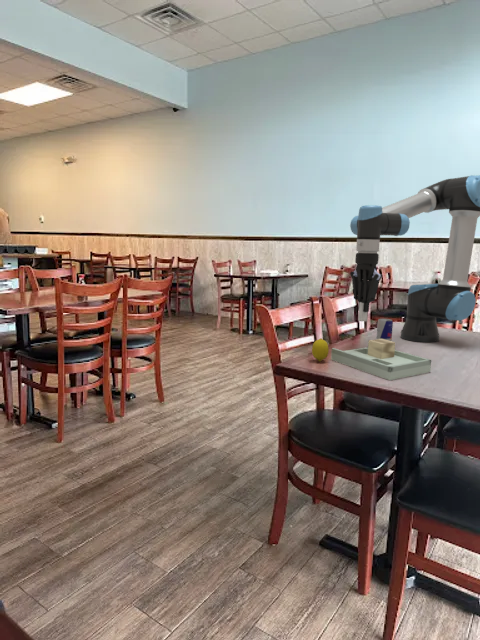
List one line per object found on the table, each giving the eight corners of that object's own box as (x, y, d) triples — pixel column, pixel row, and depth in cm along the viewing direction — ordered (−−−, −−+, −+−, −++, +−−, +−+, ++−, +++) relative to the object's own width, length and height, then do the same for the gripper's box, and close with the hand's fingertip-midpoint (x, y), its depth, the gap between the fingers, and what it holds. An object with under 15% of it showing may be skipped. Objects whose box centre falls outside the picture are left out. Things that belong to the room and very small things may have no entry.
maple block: (380, 352, 154) (381, 338, 153) (394, 356, 149) (395, 342, 148) (367, 354, 151) (368, 340, 150) (381, 359, 146) (382, 344, 145)
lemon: (322, 358, 155) (323, 336, 154) (331, 362, 150) (332, 339, 149) (308, 360, 153) (309, 337, 152) (316, 364, 148) (317, 340, 147)
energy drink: (391, 353, 163) (393, 321, 161) (376, 352, 164) (378, 320, 162) (389, 350, 168) (392, 318, 166) (375, 349, 169) (377, 318, 167)
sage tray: (369, 353, 163) (370, 342, 162) (430, 372, 141) (431, 359, 140) (331, 359, 154) (331, 348, 154) (389, 380, 132) (390, 367, 131)
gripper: (345, 251, 156) (341, 318, 160) (373, 252, 144) (368, 324, 148) (361, 251, 159) (357, 317, 163) (390, 253, 148) (384, 323, 152)
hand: (362, 320), depth 156 cm, fingers closed
